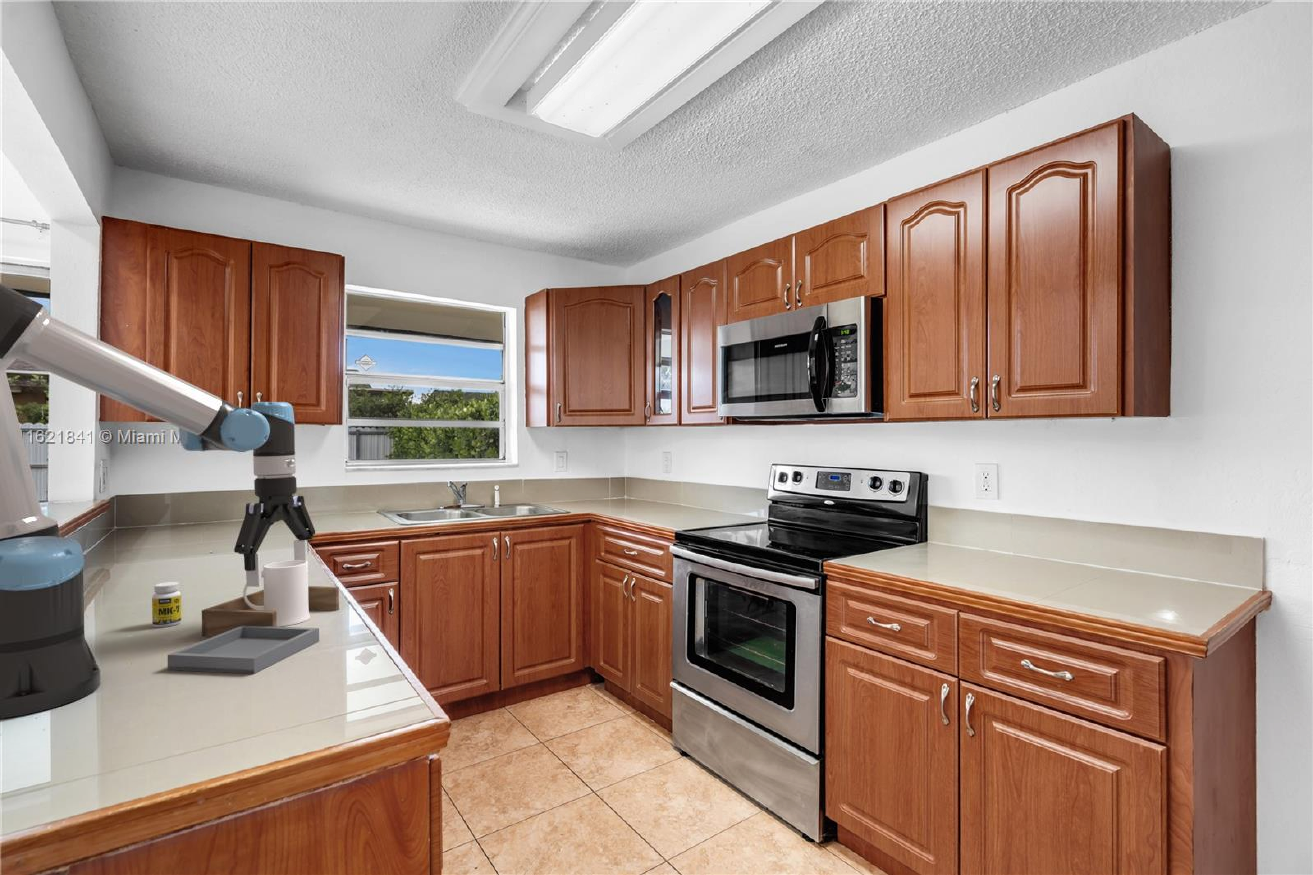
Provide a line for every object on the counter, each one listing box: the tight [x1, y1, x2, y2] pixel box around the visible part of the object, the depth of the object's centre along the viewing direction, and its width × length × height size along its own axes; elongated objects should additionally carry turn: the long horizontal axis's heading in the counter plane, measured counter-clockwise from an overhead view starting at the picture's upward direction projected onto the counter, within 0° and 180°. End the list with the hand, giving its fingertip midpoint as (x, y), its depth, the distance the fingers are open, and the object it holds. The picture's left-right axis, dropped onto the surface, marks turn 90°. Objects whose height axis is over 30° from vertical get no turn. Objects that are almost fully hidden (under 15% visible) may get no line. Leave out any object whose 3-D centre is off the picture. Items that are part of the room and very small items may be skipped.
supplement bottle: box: [151, 581, 182, 628], centre depth 131 cm, size 5×5×8 cm
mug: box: [242, 559, 311, 627], centre depth 132 cm, size 12×8×12 cm
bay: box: [201, 585, 340, 637], centre depth 132 cm, size 20×15×5 cm
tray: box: [167, 625, 320, 675], centre depth 113 cm, size 16×16×2 cm
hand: (279, 577), depth 133 cm, fingers open, 13 cm apart
